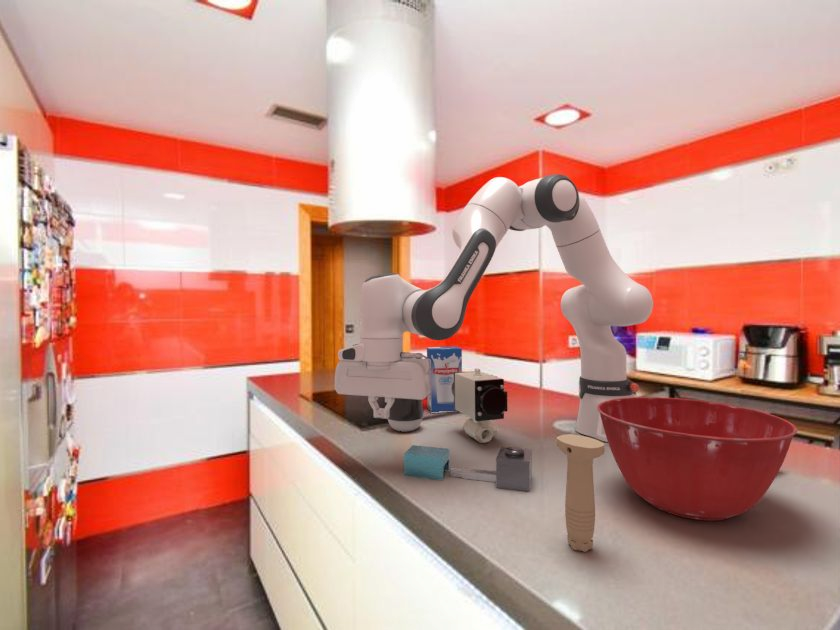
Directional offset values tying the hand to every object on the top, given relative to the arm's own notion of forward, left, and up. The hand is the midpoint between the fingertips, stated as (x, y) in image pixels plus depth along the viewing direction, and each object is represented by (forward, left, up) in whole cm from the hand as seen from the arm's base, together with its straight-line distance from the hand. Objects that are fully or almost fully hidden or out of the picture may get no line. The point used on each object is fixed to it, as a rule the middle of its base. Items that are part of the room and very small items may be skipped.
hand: (381, 417), depth 93 cm
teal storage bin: (-10, 0, -11) cm, 15 cm away
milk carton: (0, -51, -11) cm, 52 cm away
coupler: (-22, 0, -11) cm, 25 cm away
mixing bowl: (-56, 0, -11) cm, 57 cm away
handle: (-38, +20, -11) cm, 44 cm away
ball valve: (-16, -25, -11) cm, 32 cm away
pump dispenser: (+5, -28, -11) cm, 31 cm away
